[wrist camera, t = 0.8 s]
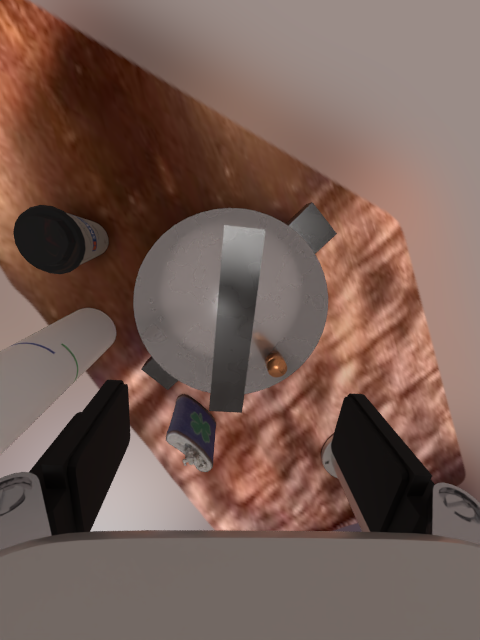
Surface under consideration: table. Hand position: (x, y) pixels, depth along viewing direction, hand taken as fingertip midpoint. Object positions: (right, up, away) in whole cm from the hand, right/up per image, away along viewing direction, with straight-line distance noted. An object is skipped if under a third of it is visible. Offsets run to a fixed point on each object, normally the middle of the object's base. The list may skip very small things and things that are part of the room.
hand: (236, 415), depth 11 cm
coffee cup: (-20, +15, +24) cm, 35 cm away
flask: (-7, -12, +34) cm, 37 cm away
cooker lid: (-1, +5, +15) cm, 16 cm away
